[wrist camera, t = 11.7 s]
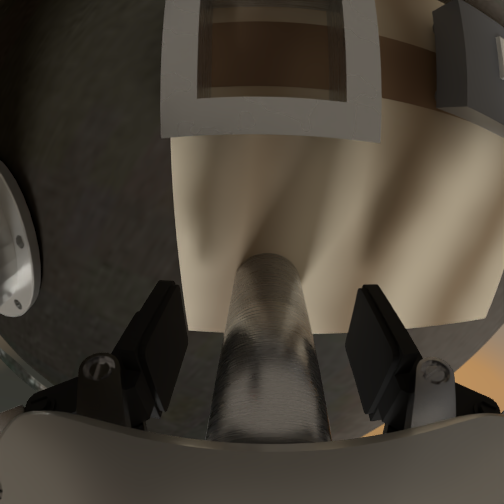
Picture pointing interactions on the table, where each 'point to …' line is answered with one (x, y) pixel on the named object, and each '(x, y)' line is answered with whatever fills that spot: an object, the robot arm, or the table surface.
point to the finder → (469, 65)
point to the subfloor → (341, 181)
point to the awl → (268, 362)
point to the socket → (272, 108)
